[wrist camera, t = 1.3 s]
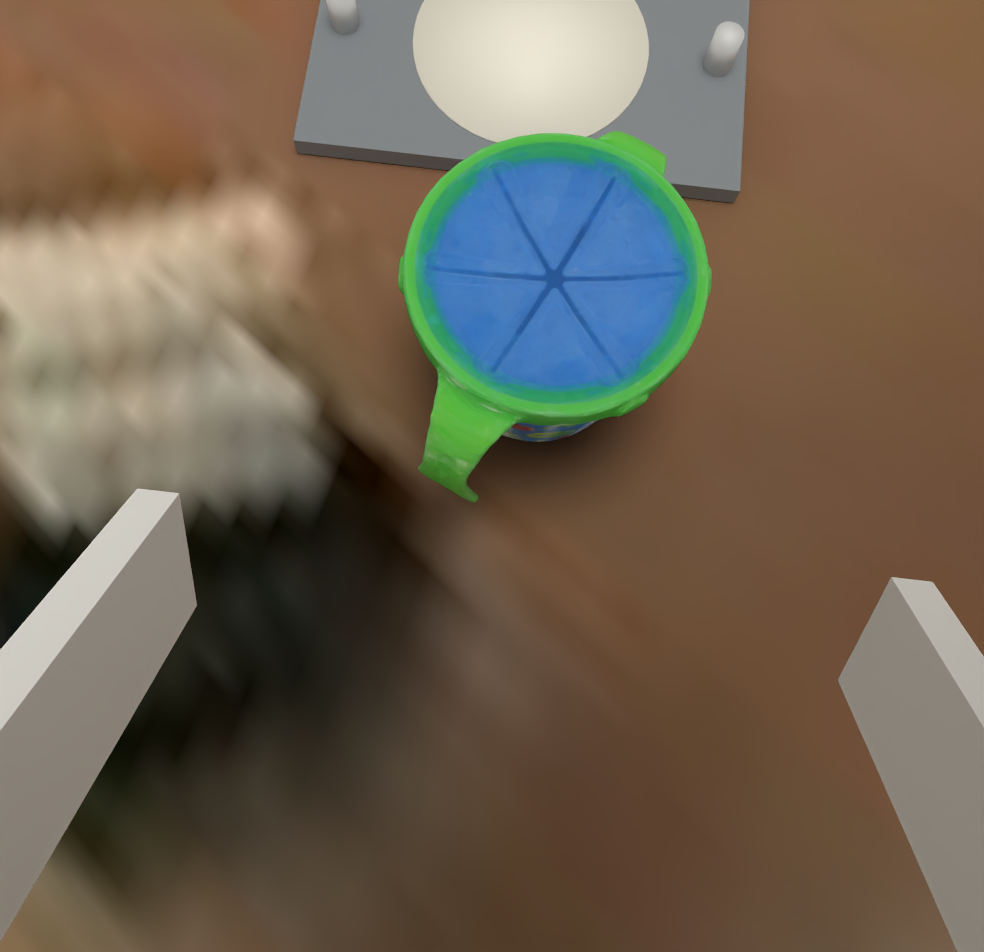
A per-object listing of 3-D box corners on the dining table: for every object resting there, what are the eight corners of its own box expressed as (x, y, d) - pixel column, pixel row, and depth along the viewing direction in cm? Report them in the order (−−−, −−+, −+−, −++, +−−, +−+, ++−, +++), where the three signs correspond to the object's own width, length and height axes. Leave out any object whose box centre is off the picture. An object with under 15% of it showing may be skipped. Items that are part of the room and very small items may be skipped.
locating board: (745, -29, 40) (766, -82, 37) (733, 202, 37) (755, 165, 34) (341, -74, 40) (330, -130, 37) (298, 153, 37) (282, 111, 34)
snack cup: (525, 570, 33) (545, 543, 23) (343, 431, 34) (286, 348, 24) (717, 312, 35) (810, 188, 25) (542, 192, 37) (566, 29, 27)
